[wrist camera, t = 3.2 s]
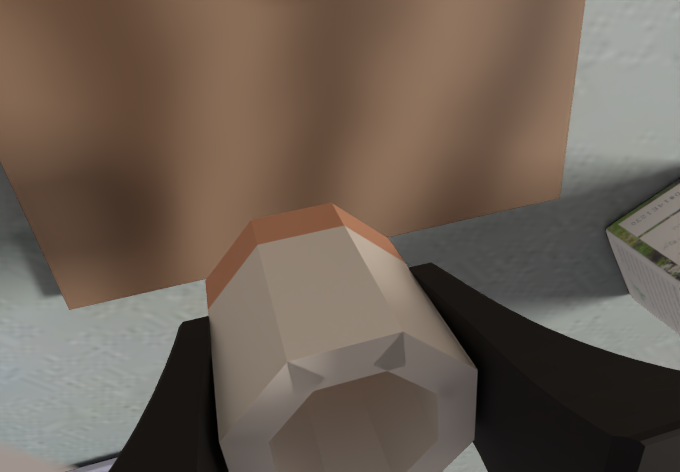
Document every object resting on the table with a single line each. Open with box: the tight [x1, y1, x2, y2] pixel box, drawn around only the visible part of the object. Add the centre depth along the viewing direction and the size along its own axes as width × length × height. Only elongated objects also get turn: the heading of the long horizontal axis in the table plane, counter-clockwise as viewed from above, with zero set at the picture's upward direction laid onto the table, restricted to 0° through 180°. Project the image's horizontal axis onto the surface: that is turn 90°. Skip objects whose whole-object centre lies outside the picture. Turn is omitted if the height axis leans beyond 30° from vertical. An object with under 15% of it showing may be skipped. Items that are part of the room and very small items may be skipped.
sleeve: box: [206, 203, 478, 472], centre depth 12 cm, size 5×5×5 cm
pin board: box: [0, 0, 585, 310], centre depth 16 cm, size 20×14×5 cm
